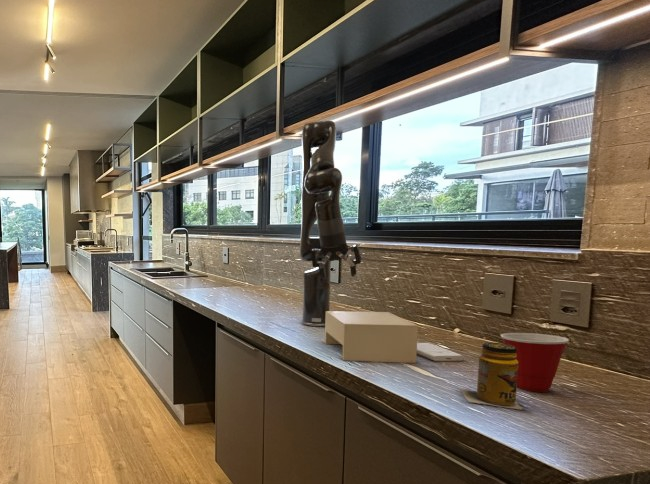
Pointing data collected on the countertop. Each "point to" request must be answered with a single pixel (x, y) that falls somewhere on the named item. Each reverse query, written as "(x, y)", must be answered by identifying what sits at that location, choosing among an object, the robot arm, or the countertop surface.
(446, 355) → the hard drive
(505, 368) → the condiment
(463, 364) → the countertop surface
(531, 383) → the plastic cup
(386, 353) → the cover
